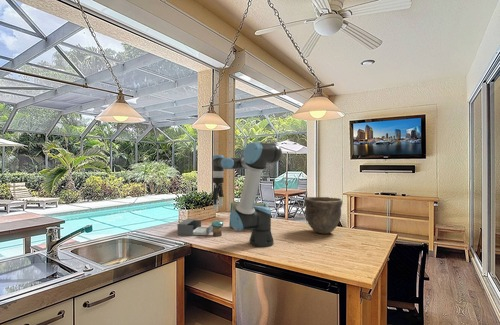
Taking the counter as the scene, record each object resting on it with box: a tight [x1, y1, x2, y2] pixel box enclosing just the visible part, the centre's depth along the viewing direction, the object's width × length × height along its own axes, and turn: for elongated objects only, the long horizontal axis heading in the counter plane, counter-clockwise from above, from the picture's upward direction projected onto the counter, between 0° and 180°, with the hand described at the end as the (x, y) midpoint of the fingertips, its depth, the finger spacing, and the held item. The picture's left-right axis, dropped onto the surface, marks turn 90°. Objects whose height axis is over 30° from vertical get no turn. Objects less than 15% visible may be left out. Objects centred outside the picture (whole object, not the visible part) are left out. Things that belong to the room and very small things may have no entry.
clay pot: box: [304, 196, 343, 235], centre depth 197 cm, size 26×26×25 cm
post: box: [212, 226, 223, 238], centre depth 190 cm, size 6×6×7 cm
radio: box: [228, 199, 269, 231], centre depth 210 cm, size 30×8×25 cm, turn 73°
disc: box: [211, 220, 224, 227], centre depth 190 cm, size 8×8×2 cm
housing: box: [176, 218, 202, 237], centre depth 198 cm, size 19×13×8 cm
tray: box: [193, 223, 213, 236], centre depth 197 cm, size 17×12×5 cm
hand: (218, 207), depth 191 cm, fingers open, 13 cm apart
